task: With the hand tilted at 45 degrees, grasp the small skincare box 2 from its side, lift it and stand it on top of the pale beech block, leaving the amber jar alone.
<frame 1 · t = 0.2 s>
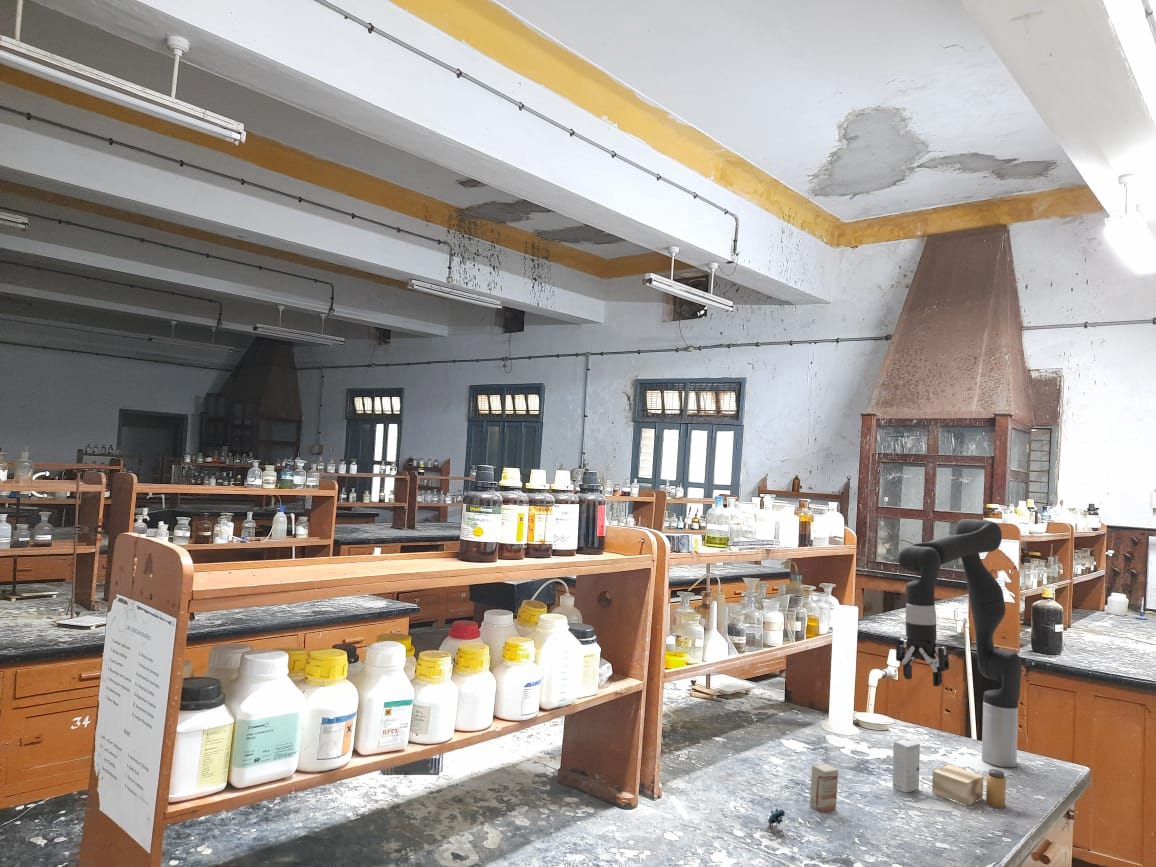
hand: (922, 682, 205), 29 cm above the countertop, tool pointing down, fingers open, 8 cm apart
sculpture: (775, 834, 177), on the countertop
amber jar: (995, 803, 199), on the countertop
beech block: (957, 796, 203), on the countertop
skincare box 2: (905, 788, 206), on the countertop
skincare box: (823, 808, 191), on the countertop
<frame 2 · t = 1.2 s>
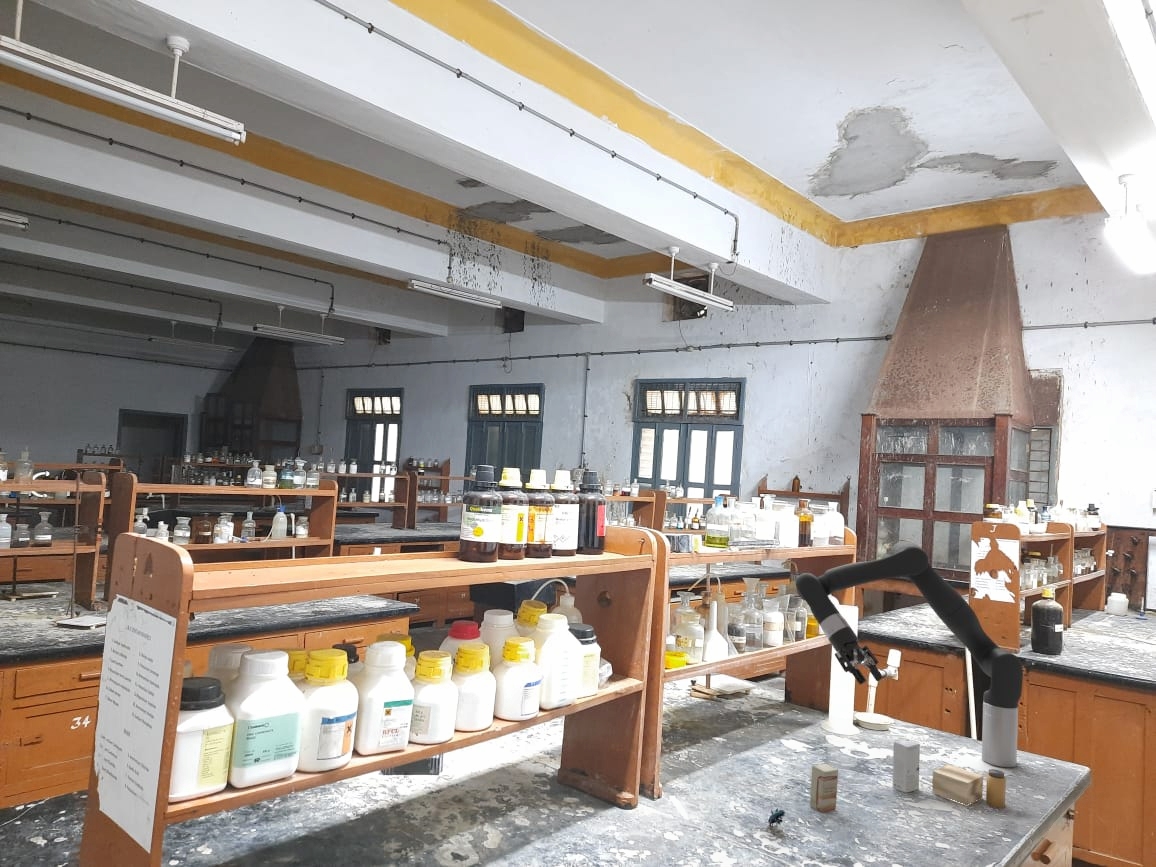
hand: (872, 681, 219), 25 cm above the countertop, tool tilted 45°, fingers open, 8 cm apart
nothing on the countertop moved.
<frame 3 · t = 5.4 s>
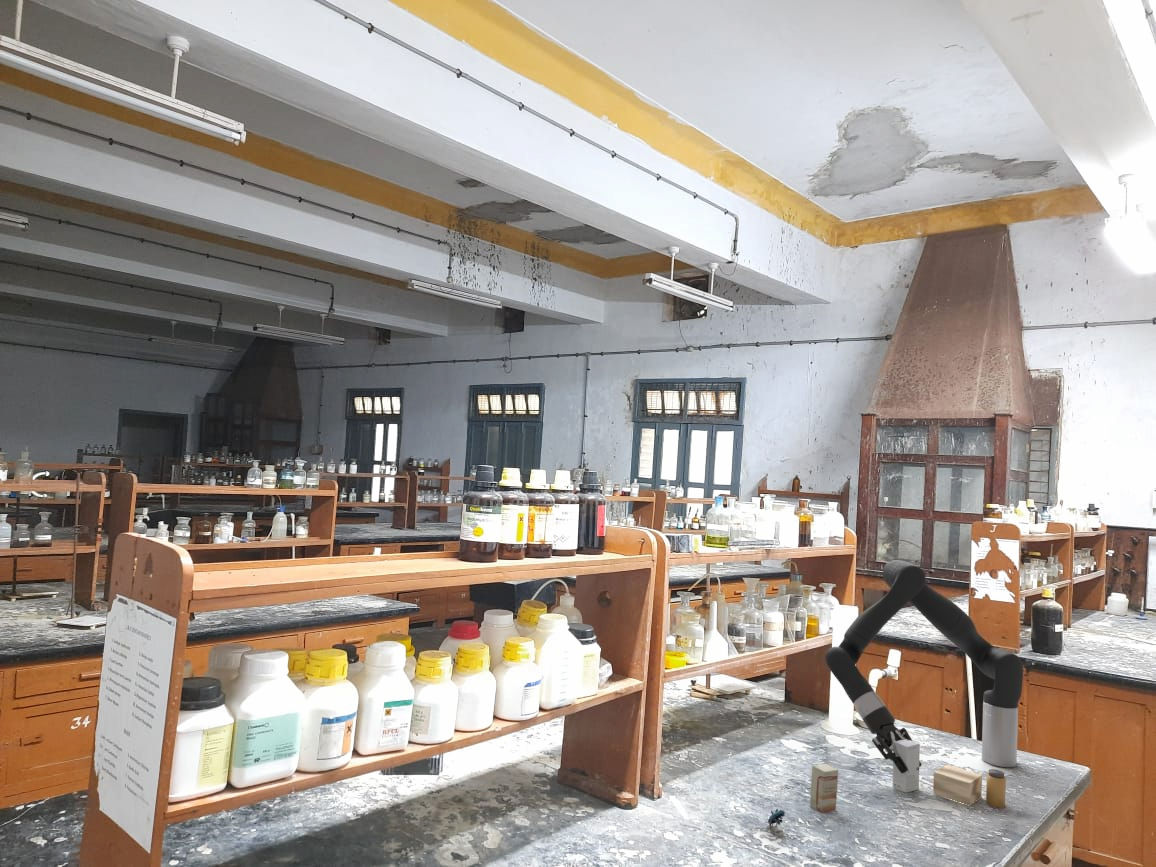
hand: (912, 769, 205), 6 cm above the countertop, tool tilted 45°, fingers closed on skincare box 2, 6 cm apart
skincare box 2: (905, 788, 206), on the countertop, touching gripper
everything else where it was.
when the fingers open (13 cm above the countertop, at t = 9.9 s): skincare box 2 drops 2 cm, resting on beech block.
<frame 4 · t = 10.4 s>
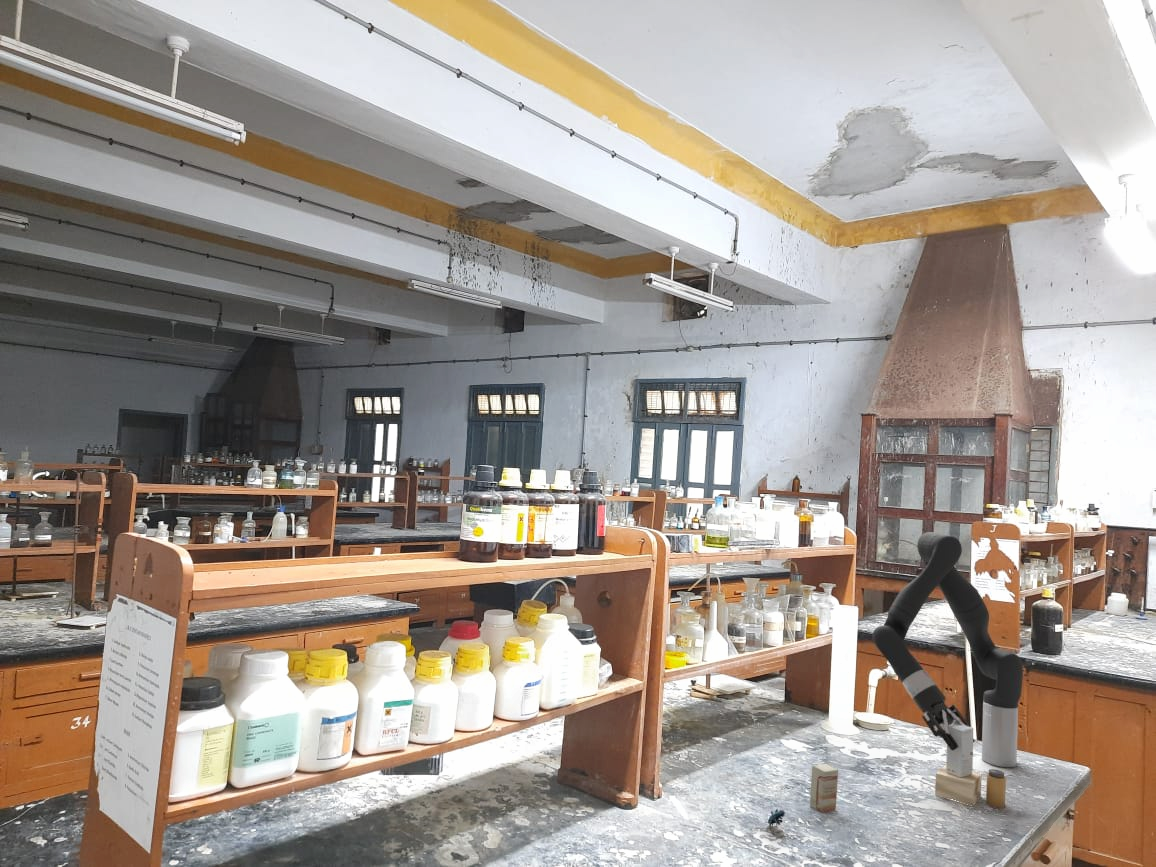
hand: (963, 746, 203), 13 cm above the countertop, tool tilted 45°, fingers open, 8 cm apart
beech block: (958, 796, 203), on the countertop, touching skincare box 2
skincare box 2: (958, 773, 204), point 6 cm above the countertop, touching beech block
everything else where it was.
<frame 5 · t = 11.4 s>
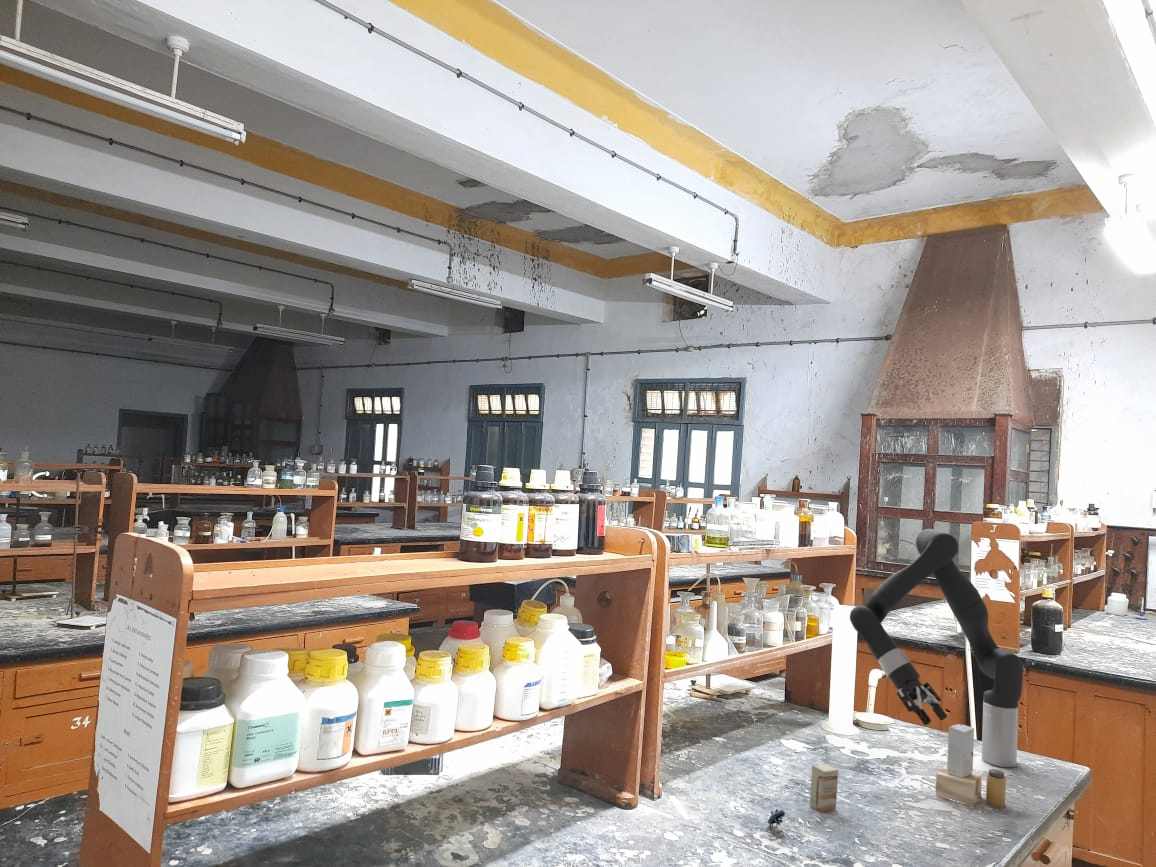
hand: (936, 721, 209), 18 cm above the countertop, tool tilted 45°, fingers open, 8 cm apart
nothing on the countertop moved.
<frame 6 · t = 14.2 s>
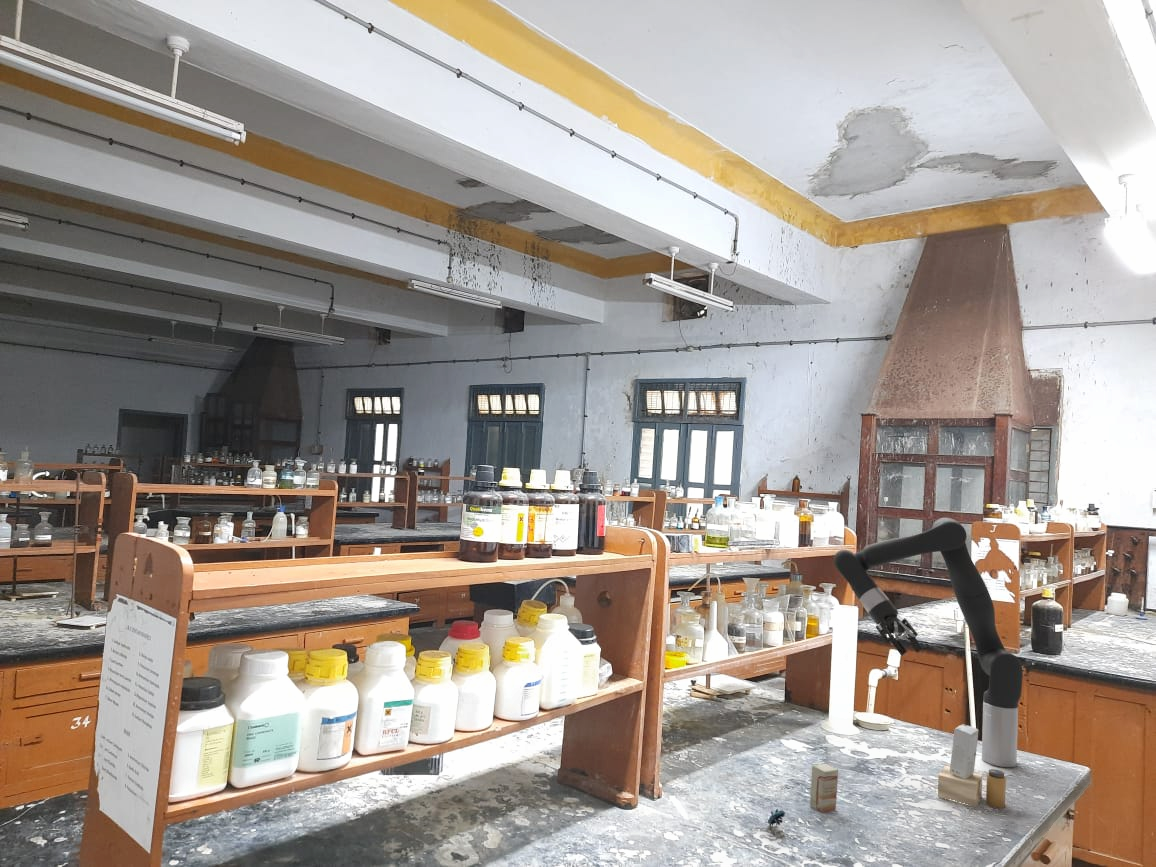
hand: (912, 652, 225), 33 cm above the countertop, tool tilted 45°, fingers open, 8 cm apart
at the end: skincare box 2 inside the target area on the beech block (0.5 cm from its centre), point 6.1 cm above the beech block's base; skincare box 2 tilted 7°; the gripper is holding nothing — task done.
